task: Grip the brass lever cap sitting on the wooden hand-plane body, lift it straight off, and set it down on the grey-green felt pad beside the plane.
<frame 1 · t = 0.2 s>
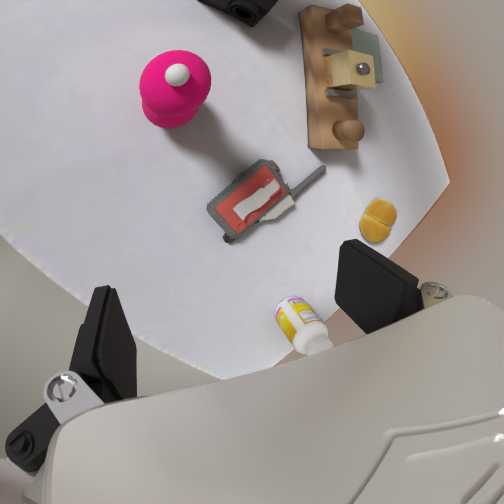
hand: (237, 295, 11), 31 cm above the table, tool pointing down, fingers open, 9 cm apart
pepper mill: (170, 104, 33), on the table
digital camera: (227, 6, 28), on the table
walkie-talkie: (264, 187, 43), on the table
bread roll: (373, 217, 52), on the table
plane body: (323, 77, 37), on the table
lever cap: (337, 74, 34), point 4 cm above the table, touching plane body
felt pad: (363, 54, 37), on the table
supplement bottle: (288, 308, 54), on the table
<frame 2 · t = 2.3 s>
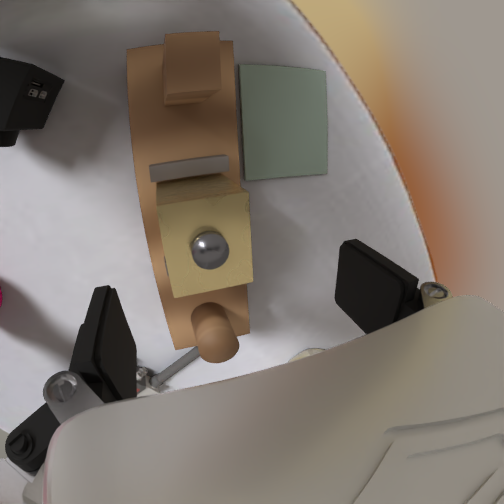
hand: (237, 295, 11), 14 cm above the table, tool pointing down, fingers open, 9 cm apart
digital camera: (9, 98, 13), on the table
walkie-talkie: (120, 369, 28), on the table
bread roll: (300, 367, 37), on the table
plane body: (186, 199, 22), on the table
lever cap: (192, 213, 19), point 4 cm above the table, touching plane body
felt pad: (286, 120, 22), on the table
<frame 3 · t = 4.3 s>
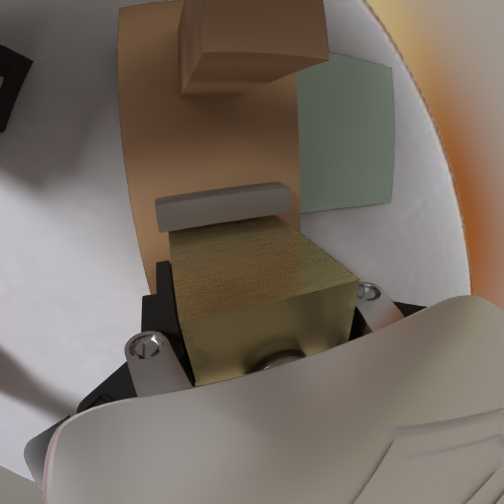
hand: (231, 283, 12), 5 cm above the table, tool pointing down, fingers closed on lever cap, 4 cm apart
plane body: (211, 241, 16), on the table
lever cap: (227, 273, 12), point 4 cm above the table, touching gripper, plane body
felt pad: (347, 130, 16), on the table
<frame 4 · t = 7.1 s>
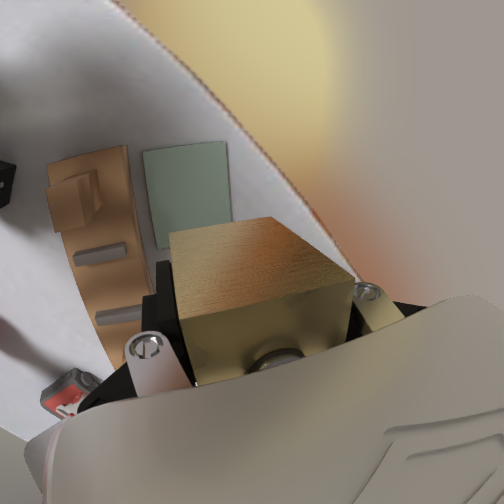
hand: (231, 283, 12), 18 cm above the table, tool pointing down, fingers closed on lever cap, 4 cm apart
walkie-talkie: (88, 385, 33), on the table
plane body: (115, 265, 27), on the table
lever cap: (227, 277, 13), point 17 cm above the table, touching gripper
felt pad: (188, 195, 27), on the table
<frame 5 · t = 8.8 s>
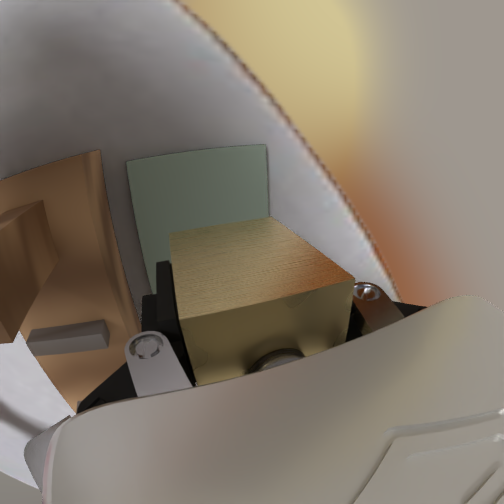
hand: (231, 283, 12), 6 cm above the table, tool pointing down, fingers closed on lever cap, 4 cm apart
plane body: (97, 332, 17), on the table
lever cap: (227, 277, 13), point 5 cm above the table, touching gripper
felt pad: (205, 232, 17), on the table
when the fingers open (3 cm above the table, at t = 10.4 s): lever cap drops 1 cm, resting on felt pad.
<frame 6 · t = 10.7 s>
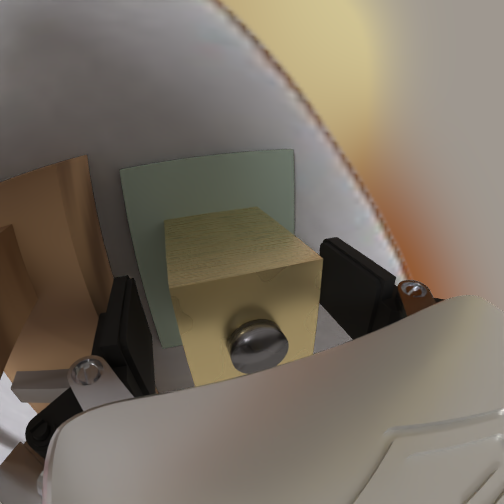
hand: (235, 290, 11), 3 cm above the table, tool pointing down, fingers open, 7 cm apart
plane body: (93, 366, 14), on the table
lever cap: (216, 261, 14), resting on felt pad
felt pad: (218, 255, 14), on the table
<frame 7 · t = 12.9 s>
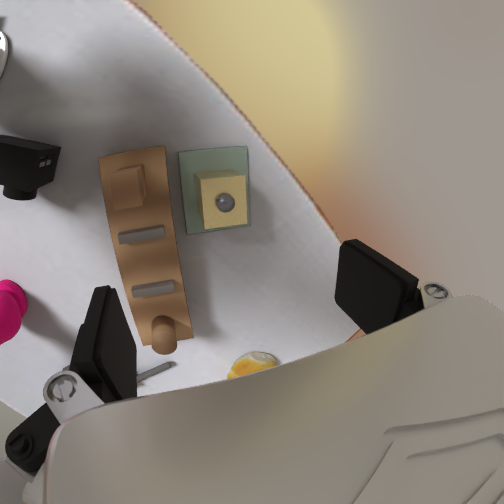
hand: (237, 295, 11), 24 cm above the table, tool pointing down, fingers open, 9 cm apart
pepper mill: (12, 297, 29), on the table
digital camera: (24, 161, 24), on the table
bread roll: (249, 366, 47), on the table
plane body: (149, 247, 33), on the table
lever cap: (214, 191, 32), resting on felt pad
felt pad: (215, 189, 33), on the table
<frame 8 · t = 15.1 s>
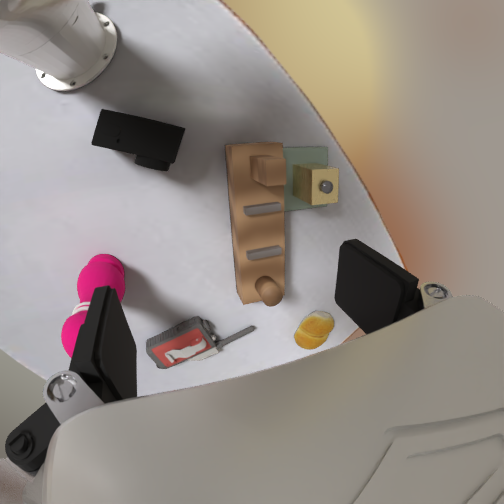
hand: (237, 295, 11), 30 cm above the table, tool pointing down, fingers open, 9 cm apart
pepper mill: (105, 271, 39), on the table
digital camera: (140, 139, 33), on the table
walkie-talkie: (196, 334, 49), on the table
bread roll: (311, 325, 57), on the table
plane body: (253, 221, 43), on the table
lever cap: (305, 179, 42), resting on felt pad
felt pad: (305, 178, 43), on the table
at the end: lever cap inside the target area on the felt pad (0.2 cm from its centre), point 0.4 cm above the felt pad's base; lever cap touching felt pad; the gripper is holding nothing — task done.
